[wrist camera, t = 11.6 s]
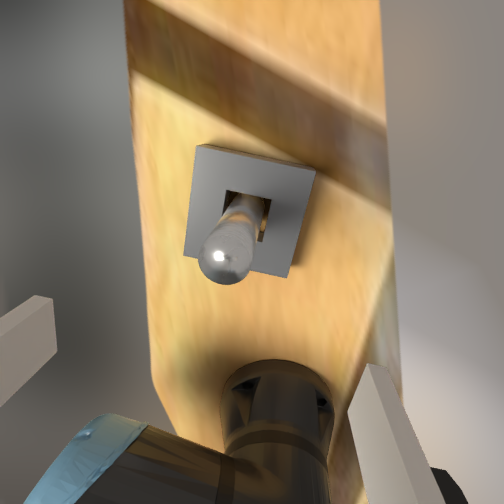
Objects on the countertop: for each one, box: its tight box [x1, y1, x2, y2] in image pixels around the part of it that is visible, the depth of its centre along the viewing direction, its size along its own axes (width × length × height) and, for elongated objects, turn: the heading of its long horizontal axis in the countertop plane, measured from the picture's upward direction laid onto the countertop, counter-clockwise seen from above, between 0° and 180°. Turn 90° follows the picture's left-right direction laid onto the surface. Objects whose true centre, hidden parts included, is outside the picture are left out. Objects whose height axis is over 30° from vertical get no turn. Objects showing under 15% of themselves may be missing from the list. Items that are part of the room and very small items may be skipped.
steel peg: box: [198, 193, 265, 285], centre depth 26 cm, size 3×3×14 cm
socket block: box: [183, 144, 316, 278], centre depth 31 cm, size 11×11×3 cm
